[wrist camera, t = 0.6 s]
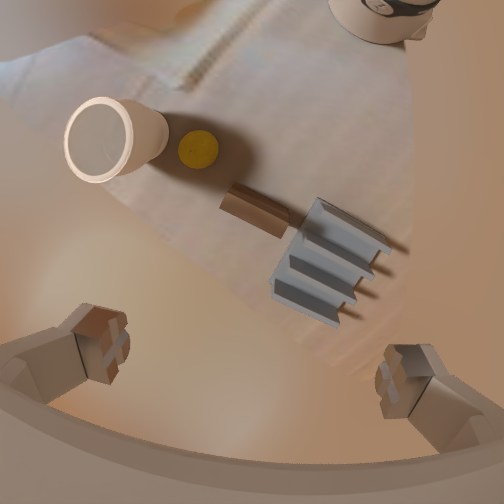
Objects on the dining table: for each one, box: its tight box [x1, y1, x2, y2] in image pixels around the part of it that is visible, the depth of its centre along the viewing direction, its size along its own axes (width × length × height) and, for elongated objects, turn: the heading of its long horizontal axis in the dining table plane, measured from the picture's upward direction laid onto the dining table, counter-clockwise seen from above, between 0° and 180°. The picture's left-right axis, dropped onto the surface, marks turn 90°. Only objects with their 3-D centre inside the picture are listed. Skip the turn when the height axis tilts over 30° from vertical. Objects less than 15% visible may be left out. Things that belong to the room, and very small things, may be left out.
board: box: [219, 182, 289, 239], centre depth 44 cm, size 2×9×8 cm, turn 64°
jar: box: [63, 97, 169, 183], centre depth 38 cm, size 11×10×15 cm
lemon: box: [178, 130, 219, 169], centre depth 41 cm, size 6×6×8 cm
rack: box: [269, 197, 392, 328], centre depth 47 cm, size 16×13×6 cm
